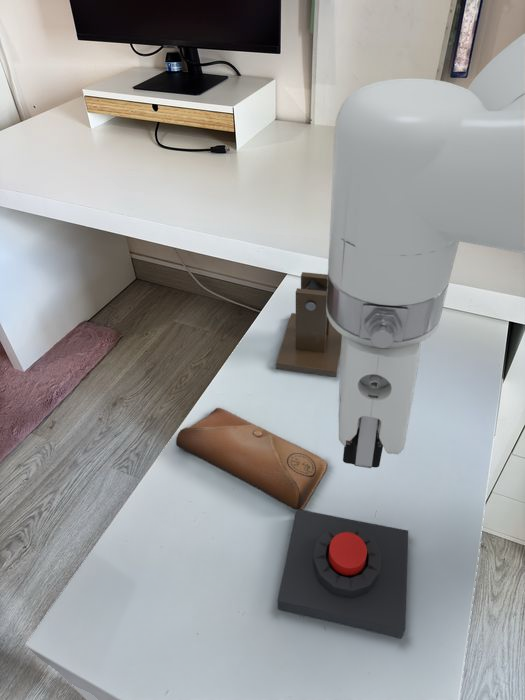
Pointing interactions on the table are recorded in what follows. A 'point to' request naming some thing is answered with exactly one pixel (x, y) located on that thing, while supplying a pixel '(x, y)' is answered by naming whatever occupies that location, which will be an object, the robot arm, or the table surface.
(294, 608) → the stop block
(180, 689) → the table surface
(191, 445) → the sunglasses case
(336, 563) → the stop button
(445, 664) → the table surface
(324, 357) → the bracket
